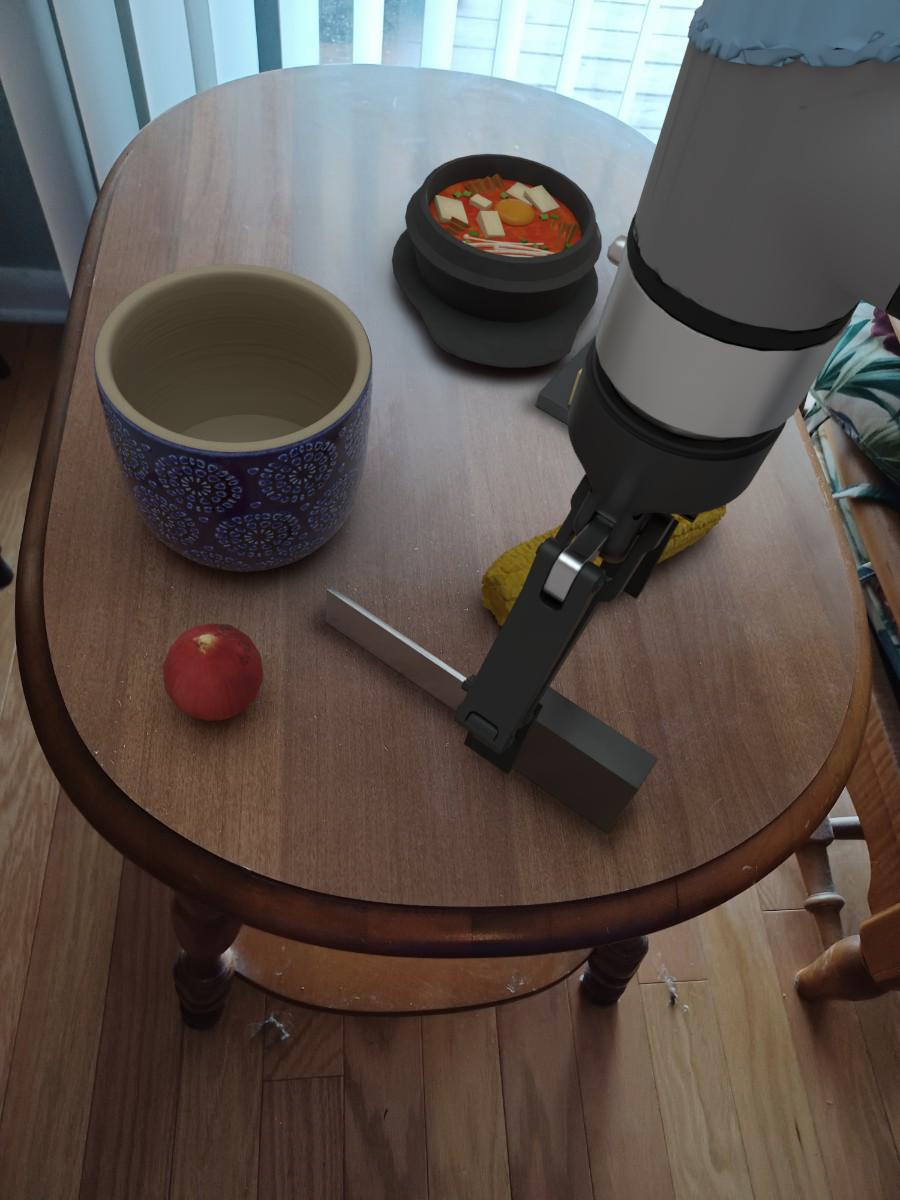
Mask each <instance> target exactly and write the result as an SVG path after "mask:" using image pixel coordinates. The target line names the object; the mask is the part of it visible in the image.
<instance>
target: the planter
mask: <svg viewBox="0 0 900 1200" xmlns="http://www.w3.org/2000/svg"><path fill="white" fill-rule="evenodd" d="M101 325H102V326H101V327H100V329H99V332H98V334H97V337H96V340H95V344H94V349H93V359H92V360H93V370H94V376H95V378H94V379H95V382H96V383H95V384H96V389H97V393H98V398H99V403H100V406H101V410H102V415H103V419H104V423H105V427H106V431H107V434H108V437H109V438H108V439H109V440H110V444H111V448H112V451H113V454H114V459H115V462H116V466H117V468H118V471H119V473H120V476H121V479H122V483H123V485H124V487H125V490H126V492H127V495H128V497H129V499H130V501H131V503H132V505H133V508H134V510H135V511H136V513H137V515H138V516H139V517H140V519H141V520H142V522H143V523H144V524H145V525H146V528H148V530H149V531H150V532H151V533H152V534H153V536H154V537H156V539H157V540H159V542H161V543H162V544H163V545H165V546H166V547H167V548H169V549H170V550H171V551H174V552H175V553H176V554H178V555H181V556H182V557H184V558H186V559H187V560H189V561H192V562H194V563H197V564H199V565H202V566H205V567H209V568H213V569H218V570H221V571H222V570H223V571H228V572H244V573H245V572H249V573H250V572H262V571H267V570H273V569H278V568H280V567H284V566H286V565H287V566H288V565H290V564H293V563H295V562H297V561H300V560H301V559H304V558H306V557H307V556H310V555H312V554H313V553H314V552H316V551H317V550H319V549H320V548H321V547H322V546H323V545H325V544H327V542H328V541H329V540H331V539H332V538H333V537H334V536H335V535H336V534H337V533H338V532H339V530H340V529H341V528H342V527H343V525H344V524H345V522H346V521H347V519H349V515H350V514H351V512H352V510H353V508H354V505H355V503H356V501H357V498H358V496H359V492H360V489H361V484H362V480H363V475H364V471H365V466H366V465H365V464H366V459H367V452H368V443H369V435H370V424H371V415H372V414H371V413H372V396H373V379H374V378H373V374H374V373H373V372H374V371H373V369H374V368H373V351H372V347H371V343H370V339H369V337H368V334H367V332H366V330H365V328H364V325H363V324H362V323H361V321H360V319H359V318H358V317H357V316H356V314H355V313H354V311H353V310H351V308H350V307H349V306H348V305H347V304H346V303H344V301H343V300H341V298H339V297H338V296H336V295H335V294H334V293H332V292H331V291H329V290H328V289H326V288H325V287H323V286H321V285H320V284H317V283H316V282H314V281H312V280H309V279H307V278H304V277H302V276H301V275H297V274H295V273H291V272H289V271H285V270H282V269H277V268H273V267H268V266H261V265H255V264H242V263H240V264H239V263H222V264H221V263H220V264H210V265H209V264H208V265H201V266H195V267H190V268H186V269H182V270H178V271H175V272H171V273H168V274H166V275H163V276H161V277H158V278H156V279H153V280H152V281H150V282H148V283H146V284H144V285H142V286H141V287H139V288H138V289H136V290H135V291H132V292H131V293H130V294H129V295H127V296H126V297H125V298H124V299H123V300H121V302H119V303H118V304H117V305H116V306H115V308H114V309H112V311H111V312H110V313H109V314H108V316H107V317H106V319H105V320H104V321H103V323H102V324H101Z"/></svg>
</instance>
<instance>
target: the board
mask: <svg viewBox="0 0 900 1200" xmlns="http://www.w3.org/2000/svg"><path fill="white" fill-rule="evenodd" d="M595 337H596V334H595V335H594V337H592V339H590V340H589V341H588V342H587V344H585V346H584V347H582V348H581V349H580V351H578V353H576V355H575V356H574V357H573V358H571V360H569V362H568V363H567V364H565V366H564V367H563V368H562V369H561V370H560V371H559V372H558V373H556V375H555V376H554V377H553V378H552V379H551V380H550V381H549V382H548V383H547V384H546V385H545V386H544V387H543V388H542V389H541V390H540V391H539V393H538V395H537V400H536V402H535V407H536V408H538V409H540V410H542V411H543V412H545V413H547V414H549V415H550V416H552V417H554V418H555V419H557V420H558V421H560V422H562V423H564V424H566V425H567V426H568V413H569V408H570V405H569V404H568V403H569V400H570V397H571V394H572V390H573V387H574V384H575V381H576V378H577V374H578V372H579V371H580V370H581V369H582V368H583V365H584V362H585V359H586V356H587V353H588V350H589V347H590V345H591V344H592V342H593V340H594V339H595Z"/></svg>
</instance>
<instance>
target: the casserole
mask: <svg viewBox="0 0 900 1200" xmlns="http://www.w3.org/2000/svg"><path fill="white" fill-rule="evenodd" d="M596 215H597V214H596V211H595V208H594V206H593V203H592V201H591V200H590V198H589V196H588V195H587V193H586V192H585V191H584V190H583V189H582V188H581V187H580V186H579V185H578V184H577V183H576V182H574V181H573V180H572V179H571V178H569V177H568V176H567V175H565V174H564V173H562V172H560V171H558V170H556V169H554V168H553V167H550V166H548V165H546V164H544V163H541V162H538V161H535V160H533V159H528V158H524V157H521V156H515V155H509V154H504V153H503V154H502V153H501V154H500V153H499V154H498V153H481V154H479V153H478V154H469V155H465V156H460V157H457V158H453V159H451V160H448V161H446V162H444V163H441V165H439V166H437V167H436V168H434V169H433V170H432V171H431V172H430V173H429V174H428V175H427V176H426V177H425V179H424V181H423V183H422V185H420V187H419V188H417V190H416V191H415V192H414V193H413V194H412V195H411V197H410V199H409V201H408V202H407V205H406V209H405V215H404V220H405V225H406V228H405V229H404V230H403V232H401V234H400V235H399V237H398V238H397V240H396V242H395V244H394V247H393V252H392V258H391V264H392V271H393V275H394V277H395V280H396V282H397V284H398V287H399V288H400V290H401V291H402V292H403V293H404V295H405V296H406V297H407V299H408V300H409V302H410V303H411V304H412V305H413V307H415V309H416V310H417V311H418V313H419V314H420V316H421V318H422V321H423V323H424V324H425V326H426V329H427V332H428V334H429V335H430V337H431V339H432V341H433V342H434V343H435V344H436V345H437V346H438V347H440V348H441V350H443V351H445V352H447V353H449V354H451V355H453V356H455V357H458V358H460V359H462V360H465V361H469V362H473V363H477V364H479V365H485V366H491V367H497V368H519V369H520V368H524V369H525V368H533V367H540V366H546V365H549V364H552V363H555V362H559V361H561V360H562V359H563V358H565V357H566V356H567V355H569V354H570V352H571V350H572V348H573V345H574V342H575V339H576V336H577V333H578V330H579V327H580V325H581V324H582V323H583V321H584V320H585V318H587V316H588V314H589V313H590V311H591V310H592V309H593V307H594V306H595V304H596V301H597V297H598V293H599V277H598V274H597V271H596V267H595V265H596V263H598V260H599V258H600V255H601V252H602V249H603V244H602V243H603V242H602V240H603V239H602V237H603V236H602V233H601V230H600V227H599V224H598V222H597V217H596Z"/></svg>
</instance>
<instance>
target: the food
mask: <svg viewBox="0 0 900 1200" xmlns="http://www.w3.org/2000/svg"><path fill="white" fill-rule="evenodd" d="M727 505H728V504H726V505H724V506H722V507H720V508H717V509H714V510H711V511H708V512H703V513H699V515H698V516H697V518H696V519H695V521H694V522H693V523H691V522H689V521H688V520H686V519H684V518H683V517H681V516H679V515H678V514H672V516H674V517H675V519H676V520H677V521H679V524H678V526H677V528H676V529H675V531H674V533H673V535H672V537H671V539H670V541H669V542H668V544H667V546H666V548H665V550H664V552H663V553H662V555H661V557H660V559H659V561H658V563H657V564H661V562H663V561H665V560H667V559H669V558H671V557H673V556H675V555H677V554H679V552H682V551H684V550H685V549H686V548H687V547H691V546H692V545H694V544H695V543H697V542H699V540H701V539H702V538H703V537H704V536H705V535H707V534H708V533H709V532H710V531H712V529H713V528H714V527H715V526H717V525H718V524H719V522H720V521H721V520H722V518H724V517H725V515H726V513H727ZM561 526H562V524H559V525H558V526H556V527H555V528H551V529H549V530H547V531H546V532H544V533H542V534H540V535H534V537H530V540H526V541H520V543H518V544H517V545H515V546H513V547H511V548H510V549H507V550H505V551H504V552H503V553H502V554H501V555H500V556H499V557H498V558H496V559H494V561H492V562H491V566H489V567H488V568H486V570H485V572H484V574H482V576H481V581H480V582H481V584H483V585H482V587H481V594H482V595H483V597H482V598H481V602H482V605H483V608H485V609H487V610H488V611H489V610H490V611H491V614H492V615H493V616H495V619H496V621H497V625H499V626H500V627H501V628H502V626H503V624H504V622H505V620H506V618H507V616H508V614H509V613H510V611H511V609H512V607H513V605H514V603H515V601H516V599H517V597H518V595H519V594H520V592H521V590H522V588H523V585H524V583H525V581H526V578H527V576H528V573H529V571H530V568H531V566H532V563H533V561H534V558H535V556H536V554H535V552H536V550H537V548H538V547H539V545H540V544H541V543H542V542H543V543H544V541H545V540H546V539H547V538H549V537H550V536H551V537H553V538H555V536H556V534H557V533H558V531H559V529H560V528H561ZM575 538H576V536H575V537H574V538H573V540H574V539H575ZM573 540H572V542H573ZM572 542H571V543H572ZM571 543H570V544H571ZM602 560H603V559H602V558H600V557H599V556H598V557H597V558H596V559H595V561H594V562H593V563H594V564H596V565H597V566H599V567H600V565H601V562H602Z"/></svg>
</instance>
